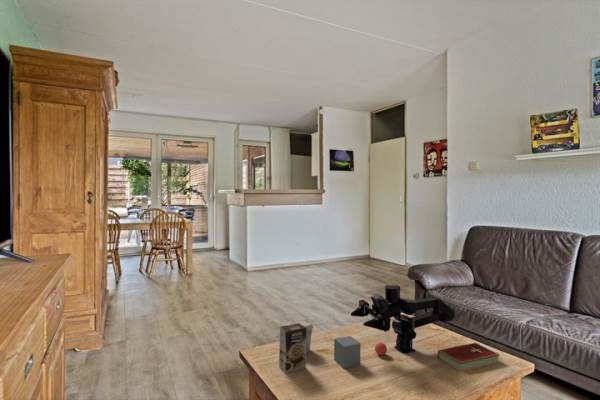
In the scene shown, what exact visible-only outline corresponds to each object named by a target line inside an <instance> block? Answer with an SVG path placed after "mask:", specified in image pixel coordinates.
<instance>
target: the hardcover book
mask: <svg viewBox="0 0 600 400" xmlns="http://www.w3.org/2000/svg"><path fill="white" fill-rule="evenodd" d="M499 356H500V353H498V352H496V351H493V350H491V349H489V348H487V347H485V346H483V345H481V344H479V343H477V342H473V343H468V344H463V345H458V346H453V347H452V346H451V347H448V348H443V349H438V350H437V358H438V359H440V360H442V361H443V362H445V363H447V364H448V365H449V366H450V365H451V366H452V367H453V368H455V369H456V370H458V371H460V372H462V371H466V370H470V369H475V368H479V367H483V366H488V365H491V364H496V363H497V364H498V362H499Z"/></svg>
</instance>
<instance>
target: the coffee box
mask: <svg viewBox="0 0 600 400" xmlns="http://www.w3.org/2000/svg"><path fill="white" fill-rule="evenodd" d="M306 333H307V328H306V327H305V326H303V325H301V324H300V323H297V324H295V323H293V324H287V325H283V326H279V357H278V358H279V360H278V361H279V362H278V367H279V368H280V369H281V370H282V372H284V374H289V373H293V372H298V371H300V370H304V369H307V353H306Z"/></svg>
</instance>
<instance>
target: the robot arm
mask: <svg viewBox="0 0 600 400" xmlns="http://www.w3.org/2000/svg"><path fill="white" fill-rule="evenodd" d="M370 299H371V301H372V304H371V307H370V303H369V302H368V301H366V300H365V299H359V302H358V307H356V308H355V309H354V310H353V311H352V312H350V316H352V317H360V318H363V317H368V316H369V315H370V316H371V319H370V320H369V319H368V320H365V321H364V322H363V326H364V327H368V328H371V329H375V330H379V331H383V332H389V331H390V329H391V328H392V330H393V332H394V333H395V334H396V338H395V345H394V346H393V348H395V349H396V350H398V351H400V352H401V353H402V354H407V353H411V352H412V353H413V352H415V351H416V349H415V348H413V340H414V339H416V337H417V332H416V331H415V329H417V328H421V327H424V326H427V325H430V324H434V323H436V322H443V323H445V322H446V323H448V322H452V321H453V320H454V319H455V318H456V317H455V316H456V313H455V310H454V309H452V308H451V307H450V306H449V305H447V304H446V303H445V302H444V300H442V299H441V298H439V297H436V296H430V297H426V298H417V299H410V298H402V297H401V286H400V285H394V284H393V285H389V284H387V285H385V286H384V297H383V296H382V295H381V294H379V293H377V292H376V293H375V294H373V295H371V296H370ZM427 309H432V310H431V311H428V312H425V313H421V314H418V315H414V314H416V313H417V312H418V311H421V310H427ZM411 315H414V316H412V317H410V316H411ZM391 318H393V320H392V322H391Z"/></svg>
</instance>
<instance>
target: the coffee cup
mask: <svg viewBox="0 0 600 400" xmlns="http://www.w3.org/2000/svg"><path fill="white" fill-rule="evenodd" d="M297 323H300V324H301V325H303V326H305V327H306V328H307V333H306V354H307V353H309V352H310V349H311V341H312V336H313V335H312V334H313V333H312V332H313V328H314V325H313V323H312V321H310V320H309V319H299V320H296V321H295V322H294V324H297Z"/></svg>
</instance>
